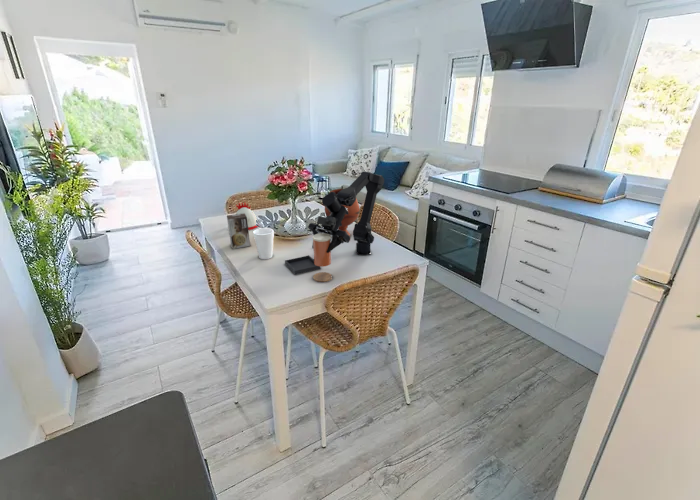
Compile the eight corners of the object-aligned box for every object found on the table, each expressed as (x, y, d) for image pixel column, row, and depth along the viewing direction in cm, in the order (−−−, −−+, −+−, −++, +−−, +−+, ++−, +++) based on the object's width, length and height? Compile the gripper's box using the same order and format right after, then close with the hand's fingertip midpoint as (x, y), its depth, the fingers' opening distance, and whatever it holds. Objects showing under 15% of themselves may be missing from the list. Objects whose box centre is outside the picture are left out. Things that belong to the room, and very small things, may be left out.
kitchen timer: (234, 223, 212) (231, 199, 206) (258, 221, 215) (255, 198, 209) (233, 231, 199) (230, 205, 193) (258, 229, 202) (255, 204, 196)
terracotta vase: (331, 228, 206) (331, 186, 197) (362, 231, 202) (364, 189, 192) (320, 239, 190) (319, 194, 180) (354, 243, 185) (355, 197, 175)
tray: (309, 258, 167) (309, 255, 166) (320, 268, 157) (320, 265, 156) (284, 264, 161) (284, 260, 160) (294, 274, 152) (294, 271, 151)
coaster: (331, 273, 154) (331, 271, 153) (332, 281, 146) (332, 280, 146) (313, 273, 153) (313, 272, 153) (313, 282, 145) (313, 281, 145)
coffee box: (248, 242, 185) (245, 212, 178) (250, 246, 180) (247, 216, 173) (230, 244, 181) (226, 215, 175) (232, 249, 176) (228, 218, 169)
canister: (326, 257, 151) (325, 231, 146) (334, 264, 146) (334, 237, 141) (310, 261, 148) (309, 235, 143) (318, 268, 142) (317, 241, 137)
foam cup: (265, 262, 163) (263, 236, 157) (251, 257, 167) (248, 232, 162) (279, 255, 170) (277, 230, 165) (265, 251, 174) (263, 226, 169)
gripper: (309, 204, 145) (292, 236, 141) (346, 212, 136) (329, 247, 132) (322, 217, 154) (306, 248, 150) (357, 225, 145) (341, 259, 141)
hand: (320, 250), depth 143 cm, fingers closed on canister, 7 cm apart
